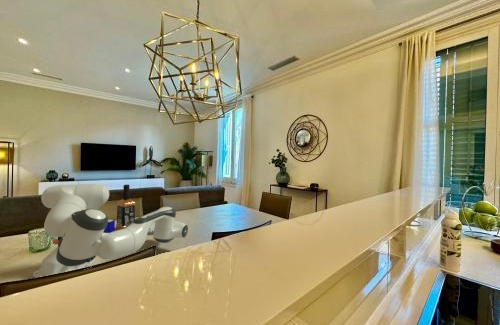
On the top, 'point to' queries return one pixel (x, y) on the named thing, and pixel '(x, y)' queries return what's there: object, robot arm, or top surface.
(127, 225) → the block
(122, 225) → the whiskey bottle
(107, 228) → the puzzle cube
